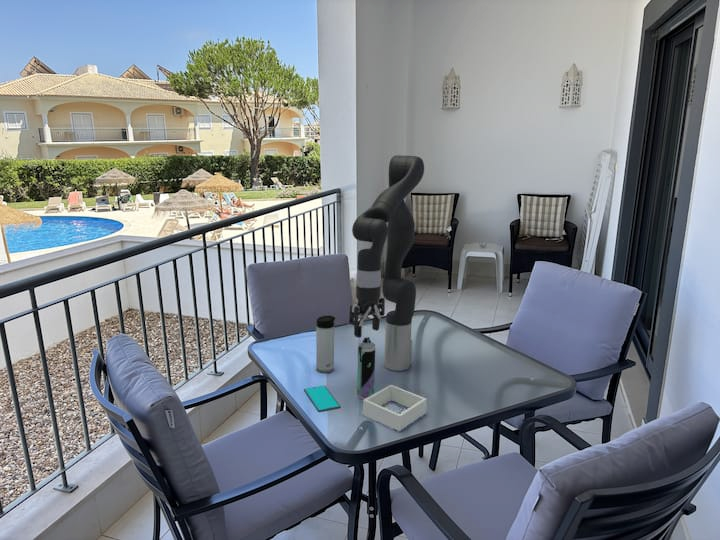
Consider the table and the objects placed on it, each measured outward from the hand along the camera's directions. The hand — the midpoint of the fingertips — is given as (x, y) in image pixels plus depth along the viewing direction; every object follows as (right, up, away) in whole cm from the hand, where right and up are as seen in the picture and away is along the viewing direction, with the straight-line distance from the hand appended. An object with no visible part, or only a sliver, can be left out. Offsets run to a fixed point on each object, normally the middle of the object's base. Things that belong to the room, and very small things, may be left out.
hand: (366, 333), depth 158 cm
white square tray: (+8, -24, -6) cm, 26 cm away
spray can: (0, -21, +5) cm, 22 cm away
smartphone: (-14, -22, +3) cm, 26 cm away
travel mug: (-15, -16, +23) cm, 32 cm away
